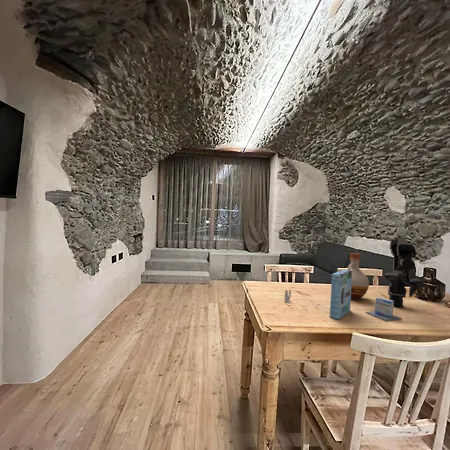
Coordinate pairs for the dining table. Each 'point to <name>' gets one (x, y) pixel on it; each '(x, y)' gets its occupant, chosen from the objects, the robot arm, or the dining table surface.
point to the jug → (357, 278)
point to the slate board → (383, 316)
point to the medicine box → (384, 307)
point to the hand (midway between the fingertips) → (402, 294)
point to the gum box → (340, 294)
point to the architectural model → (287, 296)
